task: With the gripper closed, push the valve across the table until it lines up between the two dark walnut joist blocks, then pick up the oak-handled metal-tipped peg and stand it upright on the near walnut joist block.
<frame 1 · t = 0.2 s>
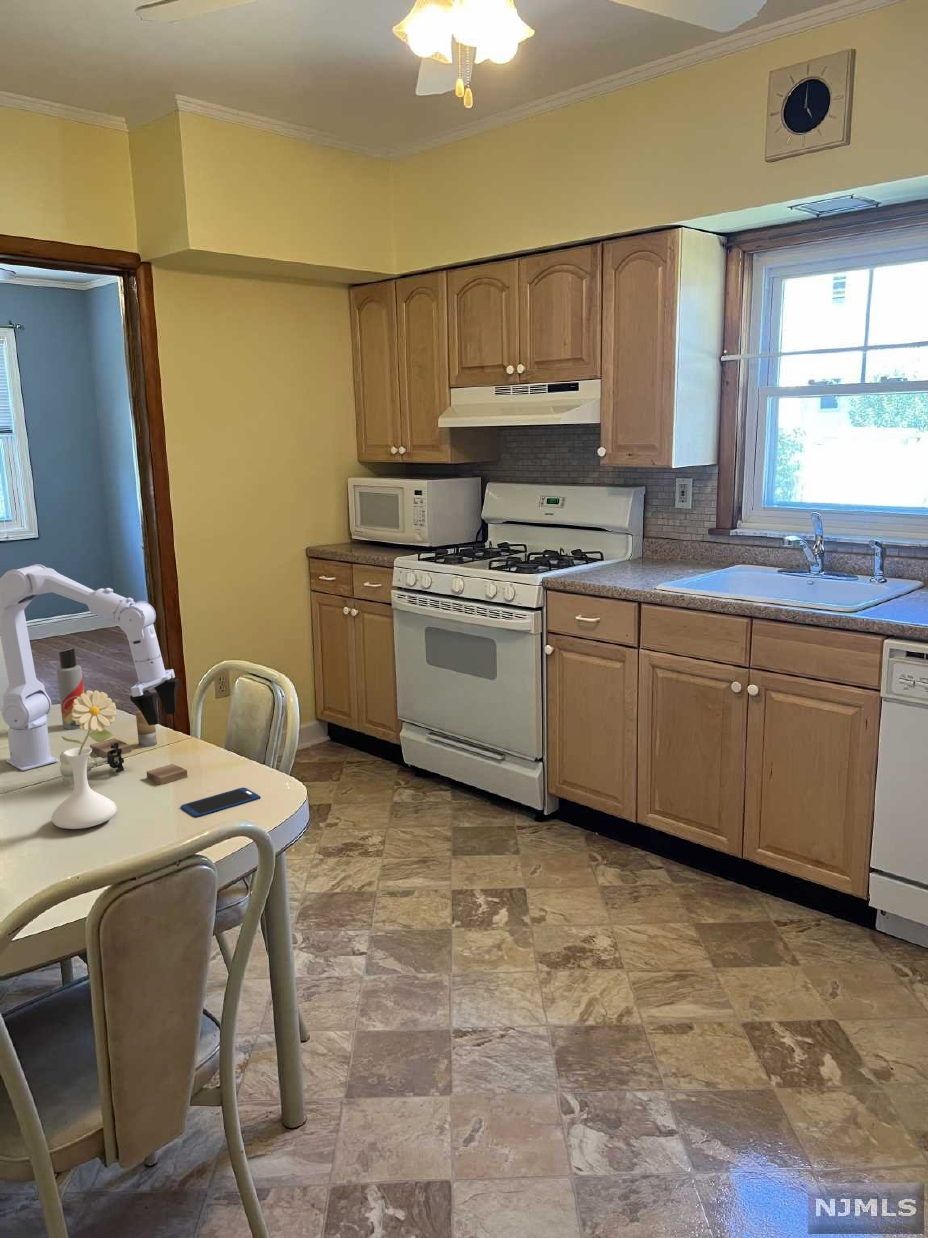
hand: (162, 719, 199), 10 cm above the table, tool pointing down, fingers open, 7 cm apart
valve: (92, 779, 195), on the table
cell phone: (221, 805, 179), on the table
lotion bottle: (75, 727, 231), on the table
flower in vase: (90, 822, 172), on the table
marker peg: (147, 744, 216), on the table
joist blocks: (139, 764, 202), on the table
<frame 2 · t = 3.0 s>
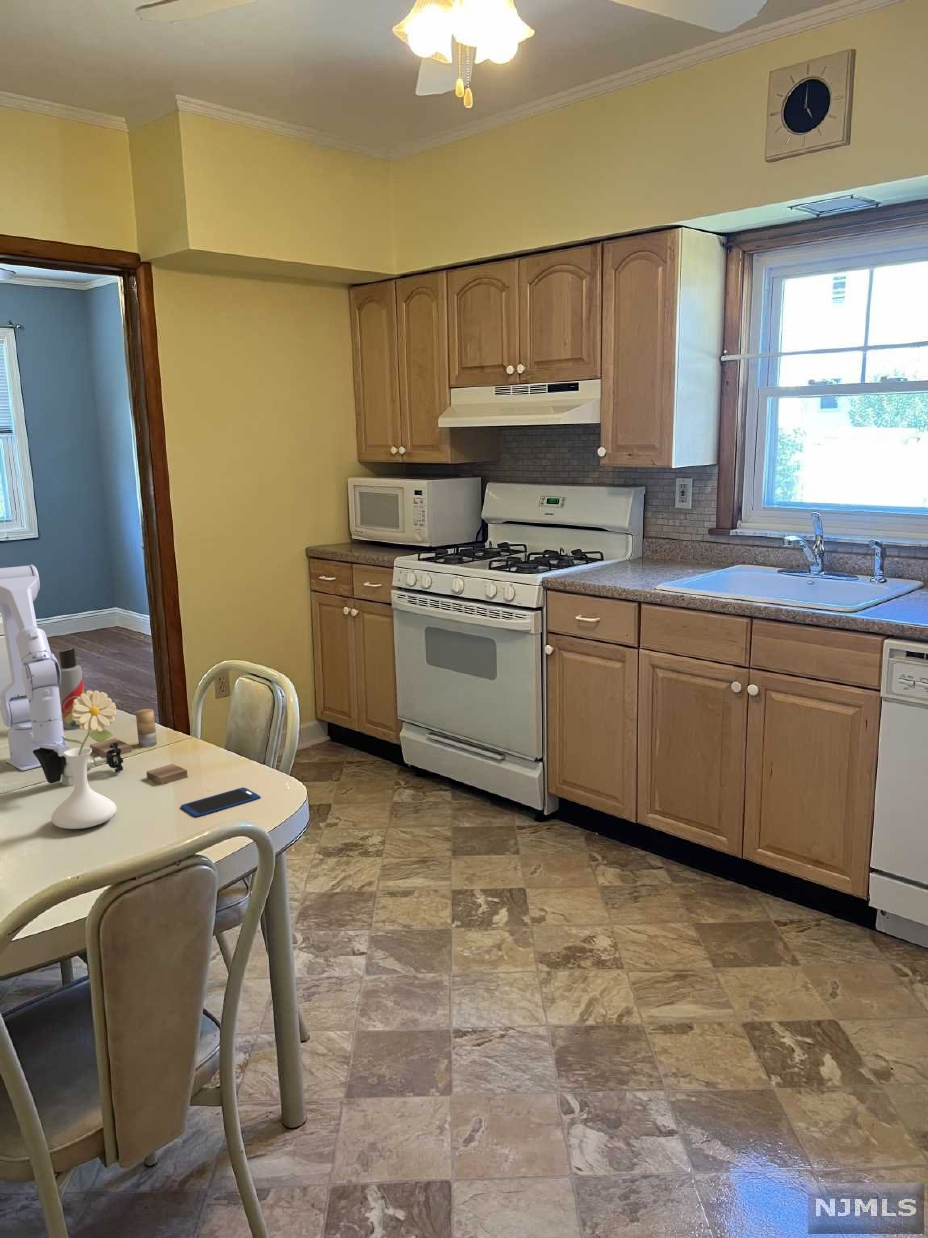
hand: (54, 781, 189), 1 cm above the table, tool pointing down, fingers closed
valve: (91, 779, 195), on the table, touching gripper
everything else where it was.
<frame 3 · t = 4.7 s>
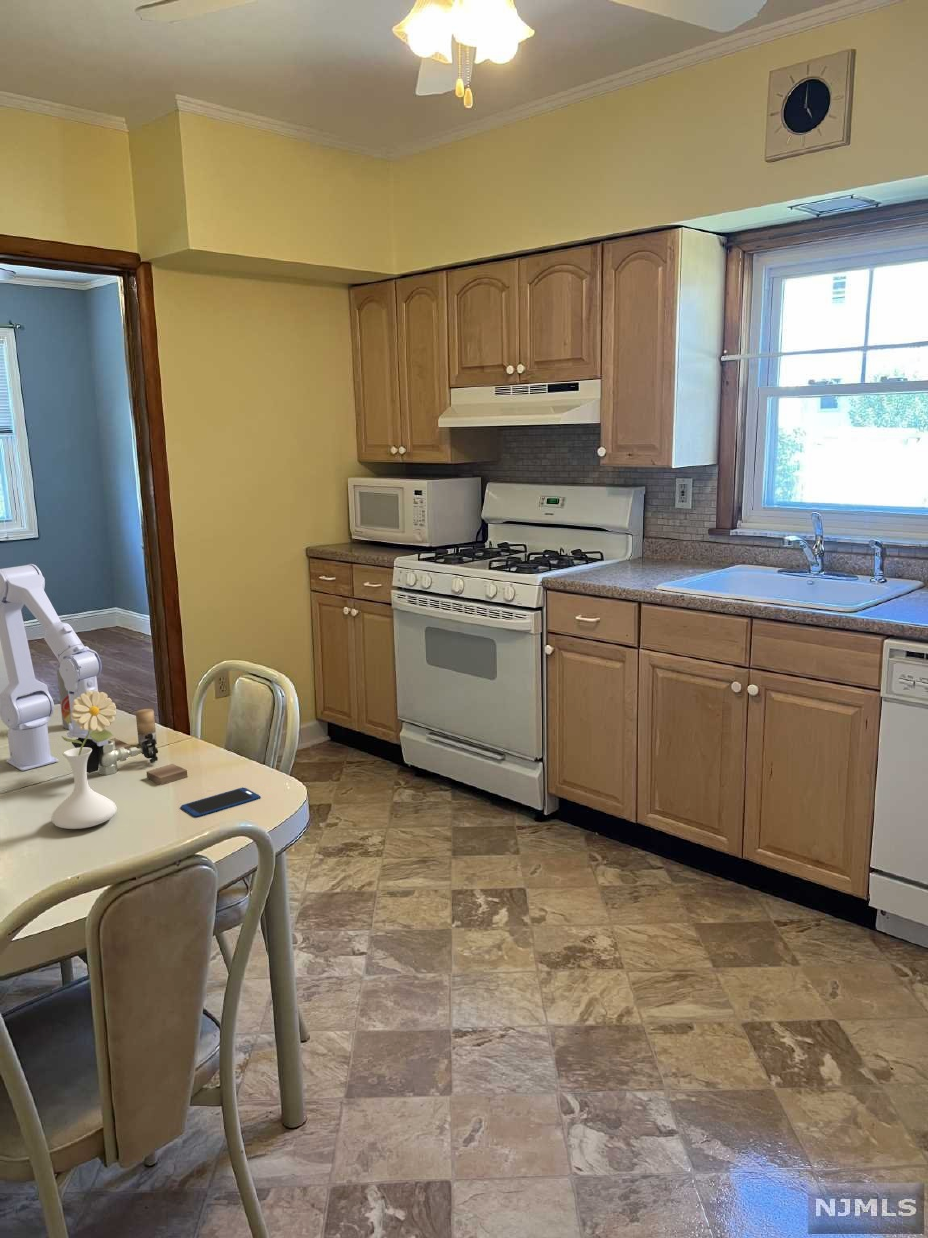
hand: (92, 771, 195), 1 cm above the table, tool pointing down, fingers closed, pressing on valve
valve: (127, 768, 200), on the table, touching gripper
everything else where it was.
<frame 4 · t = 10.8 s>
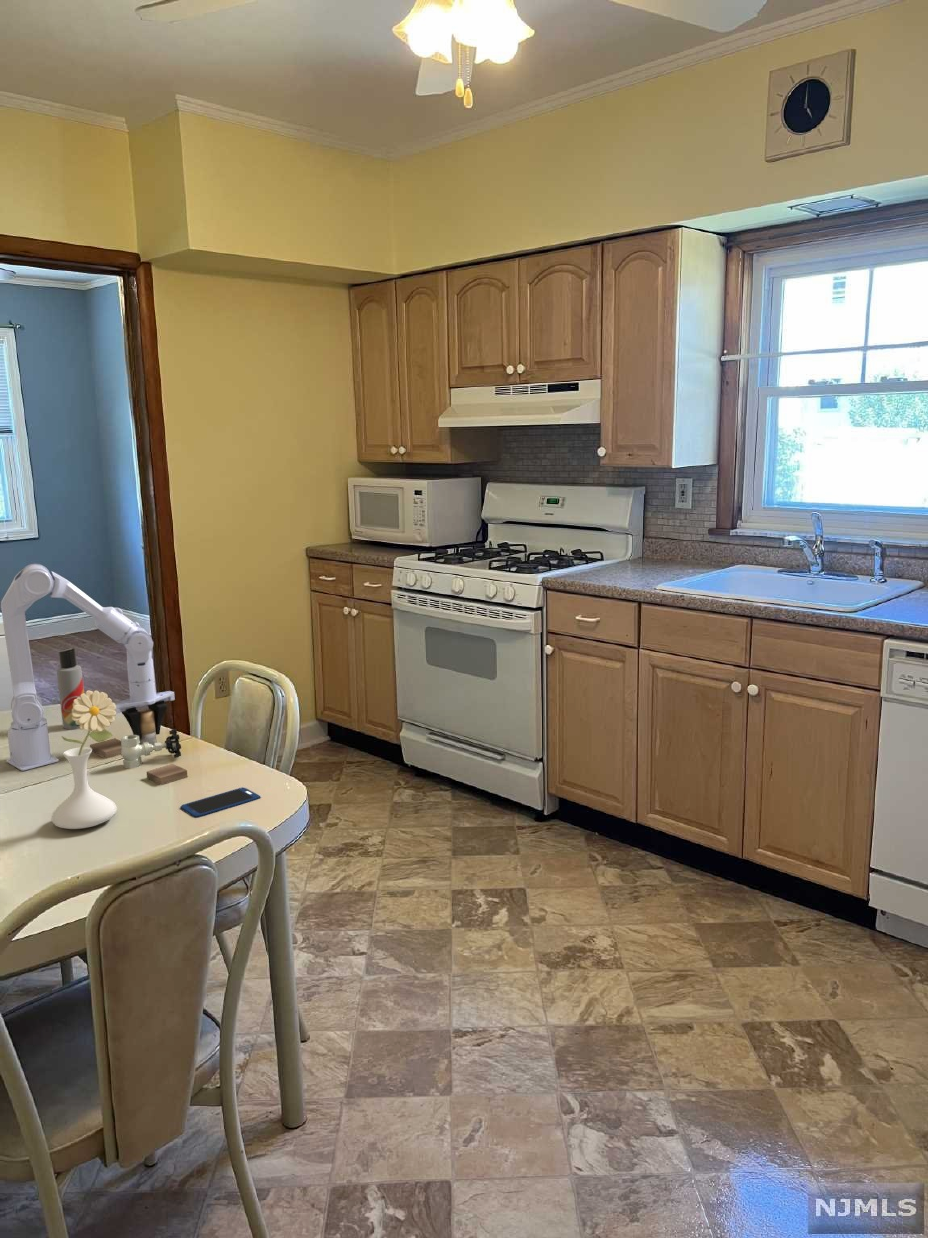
hand: (147, 736, 215), 2 cm above the table, tool pointing down, fingers closed on marker peg, 4 cm apart
valve: (151, 763, 204), on the table
marker peg: (147, 744, 216), on the table, touching gripper
everything else where it was.
when the fingers open (5 cm above the table, at t = 14.3 s): marker peg stays where it is, resting on joist blocks.
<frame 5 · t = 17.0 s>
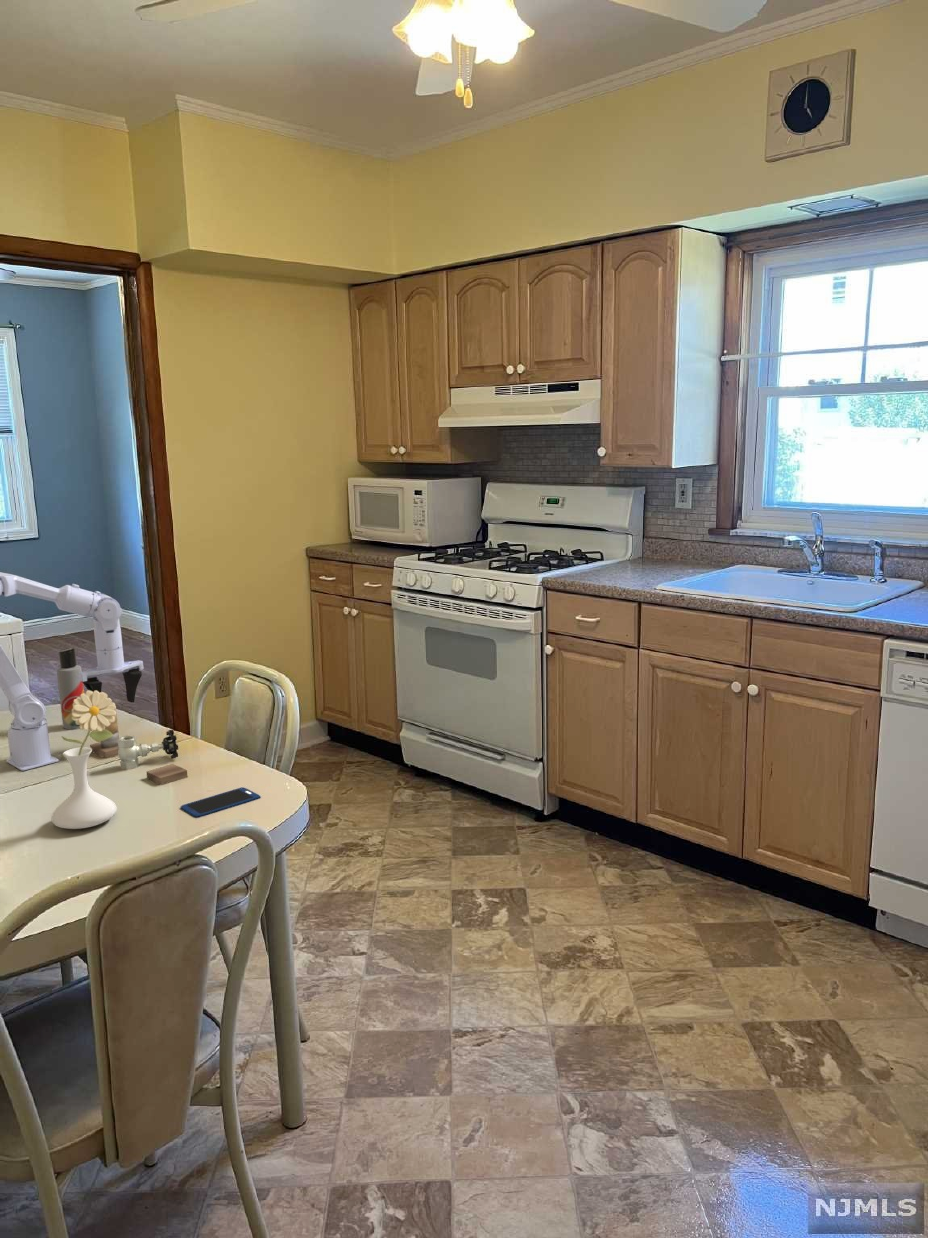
hand: (115, 705, 213), 10 cm above the table, tool pointing down, fingers open, 7 cm apart
marker peg: (110, 745, 211), point 1 cm above the table, touching joist blocks
everything else where it was.
at the end: valve inside the target area (1.9 cm from its centre), on the table; marker peg 0.0 cm from the target spot, point 1.5 cm above the table; marker peg tilted 0° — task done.
